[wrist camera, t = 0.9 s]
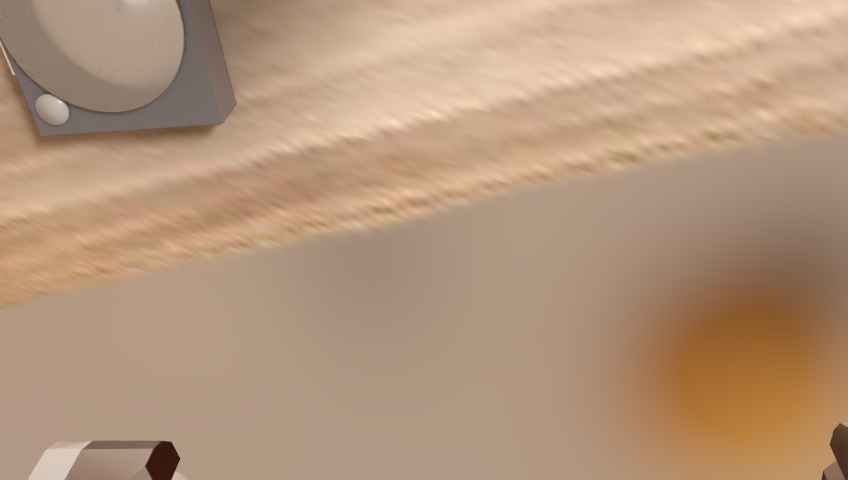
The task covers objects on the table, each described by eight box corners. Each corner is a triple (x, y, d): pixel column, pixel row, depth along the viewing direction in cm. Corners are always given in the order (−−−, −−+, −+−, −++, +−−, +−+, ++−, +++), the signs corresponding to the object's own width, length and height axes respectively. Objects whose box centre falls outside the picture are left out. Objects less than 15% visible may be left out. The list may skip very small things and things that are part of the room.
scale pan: (-39, -73, 41) (-46, -70, 41) (152, -94, 40) (148, -92, 39) (39, 114, 47) (34, 118, 47) (207, 101, 46) (204, 105, 46)
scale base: (-37, -111, 43) (-73, -100, 40) (173, -135, 42) (150, -125, 39) (55, 116, 51) (30, 138, 48) (236, 103, 49) (220, 126, 46)
